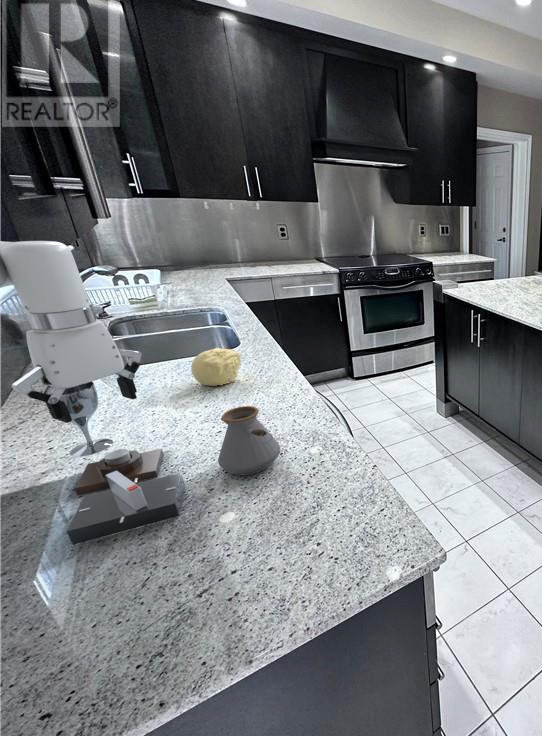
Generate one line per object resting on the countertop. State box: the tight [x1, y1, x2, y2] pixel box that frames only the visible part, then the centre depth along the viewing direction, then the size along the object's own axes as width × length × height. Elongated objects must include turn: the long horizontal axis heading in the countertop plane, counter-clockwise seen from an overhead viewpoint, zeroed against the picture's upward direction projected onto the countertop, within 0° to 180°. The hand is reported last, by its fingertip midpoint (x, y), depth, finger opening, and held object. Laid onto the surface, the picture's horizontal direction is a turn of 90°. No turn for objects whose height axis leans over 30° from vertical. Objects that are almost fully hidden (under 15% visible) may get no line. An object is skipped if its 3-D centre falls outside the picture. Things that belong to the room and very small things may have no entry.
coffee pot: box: [217, 405, 281, 476], centre depth 83 cm, size 21×12×15 cm, turn 47°
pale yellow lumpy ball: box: [190, 347, 242, 387], centre depth 124 cm, size 11×12×11 cm
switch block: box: [74, 448, 165, 496], centre depth 83 cm, size 12×9×4 cm
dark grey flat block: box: [66, 472, 186, 546], centre depth 74 cm, size 14×13×3 cm
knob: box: [106, 471, 147, 511], centre depth 72 cm, size 9×2×4 cm, turn 62°
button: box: [104, 448, 131, 466], centre depth 82 cm, size 4×4×2 cm
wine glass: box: [40, 381, 114, 457], centre depth 89 cm, size 8×8×15 cm
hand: (99, 408), depth 74 cm, fingers open, 9 cm apart
